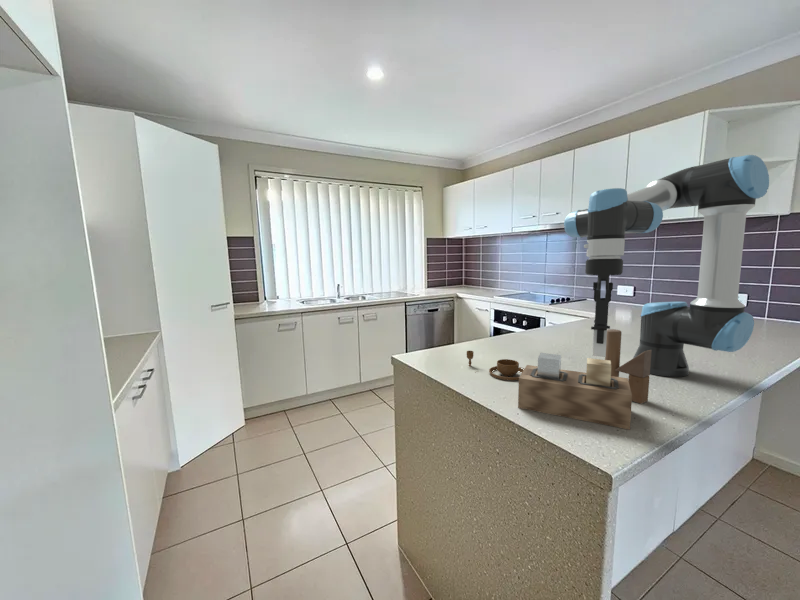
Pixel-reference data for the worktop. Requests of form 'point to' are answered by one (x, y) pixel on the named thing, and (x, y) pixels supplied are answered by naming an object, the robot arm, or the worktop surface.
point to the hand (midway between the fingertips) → (598, 355)
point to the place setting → (502, 367)
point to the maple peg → (598, 372)
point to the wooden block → (629, 366)
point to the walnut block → (576, 397)
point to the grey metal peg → (549, 365)
